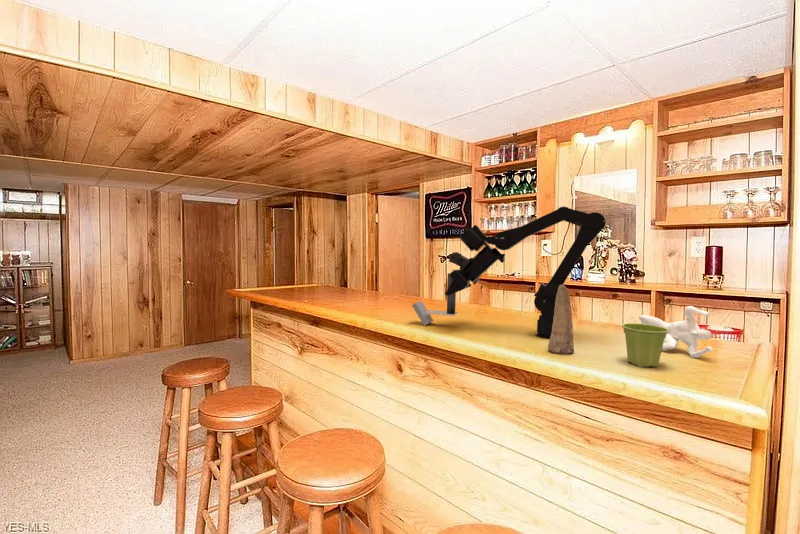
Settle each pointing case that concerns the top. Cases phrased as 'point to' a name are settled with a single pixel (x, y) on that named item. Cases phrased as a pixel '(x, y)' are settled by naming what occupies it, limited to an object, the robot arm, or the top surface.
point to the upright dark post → (450, 302)
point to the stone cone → (562, 324)
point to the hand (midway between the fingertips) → (447, 294)
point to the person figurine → (682, 331)
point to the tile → (422, 313)
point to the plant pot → (644, 343)
